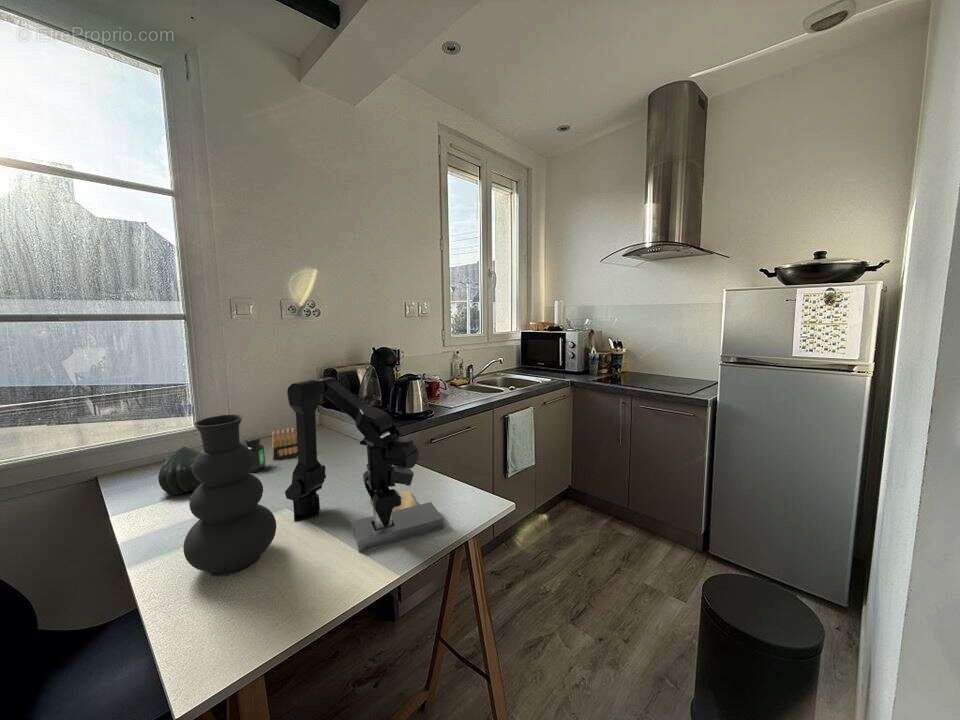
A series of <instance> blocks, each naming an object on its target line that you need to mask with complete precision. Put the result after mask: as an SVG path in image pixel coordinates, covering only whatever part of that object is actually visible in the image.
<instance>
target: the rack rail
mask: <svg viewBox="0 0 960 720" xmlns="http://www.w3.org/2000/svg"><path fill="white" fill-rule="evenodd" d="M440 530H444V518H443V516H442V515H441V513H440V512H439V511H438V509H437V508H436V507H435V505H434V504H433V503H432V502H431V501H430V502H425V503H421V504H418V505H416V506H412V507H408V508H404V509H400V510H396V511H392V527H389V528H386V529H382V530H378V531H375V530H374V518H373V515H372V516H368V517H365V518H361V519H355V520H352V531H353V532H352V533H353V535H354V540H355V543H356V546H357V550H358V553H362V552H366V551H370V550H373V549H377V548H380V547H384V546H388V545H391V544H395V543H398V542H401V541H404V540H408V539H412V538H415V537H419V536H422V535H425V534H430V533H433V532H436V531H440Z"/></svg>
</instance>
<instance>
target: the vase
mask: <svg viewBox="0 0 960 720" xmlns="http://www.w3.org/2000/svg"><path fill="white" fill-rule="evenodd" d="M243 418H244V416H243V415H241V414H234V413H233V414H231V413H230V414H220V415H214V416H208V417H205V418H202V419H198V420H196V421H195V422H193V425H194V427H195V428H196V429H197V430H198V431H199V433H200V436H201V442H202V443H201V444H202V447H203V448H202V449H201V450H200V451H199V452H200V453H199V454H198V455H197V457H196V458H195V460H194V462H193V465H192V472H193V475H194V477H195V478H196V479H197V480H198V481H199V482H201V484H200V485H199V486H198V487H197V489H196V490H195V491H192V494H191V496H190V499H189V504H188V505H189V510H190V512H191V514H192V515H193V516H194V517H195V518H197V519H198V520H197V521H196V522H195V523H194V524H193V525H192V526H191V527H190V529H189V530H188V532H187V534H186V536H185V538H184V541H183V546H182V547H183V554H184V557H185V560H186V561H187V563H188V564H189V565H190V566H192V567H193V568H194V569H197V570H198V571H201V572H207V573H208V574H209V575H211V576H217V577H223V576H229V575H233V574H236V573H239V572H242V571H244V570H246V569H249V567H251V566H253V565H255V563H256V562H257V561H259V559H260V558H261V556H262V555H263V553H265V551H267V550H268V548H269V547H270V545H271V544H272V542H273V540H274V538H275V537H276V532H277V521H276V517H275V515H274V514H273V512H272V511H271V510H270V509H269V508H268V507H266V506H264V505H262V504H259V502H260V501H261V499H262V498H263V495H264V494H263V493H264V486H263V483H262V481H261V480H260V479H259V477H257V476H256V475H254V474H252V473H248V472H249V471H250V470H251V468H252V466H253V463H254V456H253V453H252V451H251V450H250V449H249V448H248V447H247V446H246V445H245V443H243V442H241V441H240V424H241V422H242V420H243Z"/></svg>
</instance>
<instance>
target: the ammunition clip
mask: <svg viewBox="0 0 960 720" xmlns="http://www.w3.org/2000/svg"><path fill="white" fill-rule="evenodd" d="M271 437H272V438H271V439H272V440H271V441H272V442H271V444H272V459H273V461H278V460H283V459H287V458H292V457H298V449H297V429H296V431H295V428H294V427H293V426H292V427H291V432H290V429H289V427H287V428H286V431H285V429H284V428H282V429H281V432H280V430H279V429H277V432H276V431H275V430H272V434H271Z"/></svg>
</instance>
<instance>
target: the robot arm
mask: <svg viewBox="0 0 960 720" xmlns="http://www.w3.org/2000/svg"><path fill="white" fill-rule="evenodd" d="M286 393H287V400H288V405H289V407H290V408H291V409H292V410H293V411H294V413H295V421H296V423H295V425H296V430H297V432H296V433H297V434H296V436H297V439H296V442H297V449H298V456H297V464H296V465H295V467H294V470H292V471H293V472H292V475H291V476H292V477H291V483H290V485H289V486H288V487H287V489H286V490H285V491H284V494H285V497H286V499H287V500H290V501H292V503H293V504H292V505H293V521H294V522H297V521H302V520H306V519H309V518H314V517H319V515H320V511H321V505H320V504H321V503H320V495H319V493H317V491H319V490H321V489H323V488H322V487H323V484H324V483H325V479H326V478H327V475H326V468H327V467H326V465H325V464H321V462H320V461H319V460H318V452H317V451H318V450H317V448H318V447H317V445H318V444H317V424H316V423H317V420H316V418H317V417H316V411H317V409H318V407H319V405H320V403H321V400H322V395H323V396H324V397H325V398H326V399H328V400H329V401H330V402H331V403H332V404H334V406H336V407H338V408H339V409H340V410H341V411H342V412H343V413H345V414H346V415H347V416H348V417H350V418H351V419H352V420H353V421H354V423H355V427H356V430H358V431H359V432H360V434H362V436H363V439H362V440H361V441H359V445H360V446H361V445H362V446H366V453H367V455H366V456H367V464H366V469H367V470H366V471H364V473H363V474H362V481H363V484H364V487H365V489H366V491H367V493H368V496H369V497H370V499H372V502H373V506H374V509H375V511H376V512H377V514H378V516H379V518H380V520H381V522H382V524H383V526H384V527H387V526H388V525H389V521H390V517H391V513H392V510H393V508H394V507H397V506H400V505H401V496H400V495H399V493H398V492H399V491H398V490H396V489H395V488H392V487H396V484H398V485H404V486H405V485H406V486H408V487H409V486H412V485H411V484H412V482H413V479H414V474H415V472H414V471H412V469H413V468H414V467H415V466H416V464H417V462H418V459H419V450H418V447H417V446H416V445H415V444H414V440H413V439H409V438H408V439H405V438H404V439H403V438H402V436H403V435H402V434H401V432H400V430H399V429H398V426H396V424H395V423H394V421H393V417H392V416H391V415H390V414H389V413H388V412H386V411H385V410H382V409H381V408H379V407H376V406H375V407H374V406H370V405H368V404H366V403H365V401H363V400H361V399H360V398H359V397H357V396H356V395H355V394H354V393H352V392H351V391H350V390H348V389H347V388H346V387H345V386H344V385H342V384H341V383H339V381H338V379H336V378H335V377H333V376H329V377H324V378H321V379H318V380H315V379H314V378H313V379H312V378H311V379H307V380H302V381H298V382H294V383H292V384H290V385H289V386H288V387H287V391H286ZM386 434H387V435H386ZM384 435H385V436H384ZM382 436H384V437H382ZM389 487H391V488H392V489H390V488H389Z"/></svg>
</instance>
